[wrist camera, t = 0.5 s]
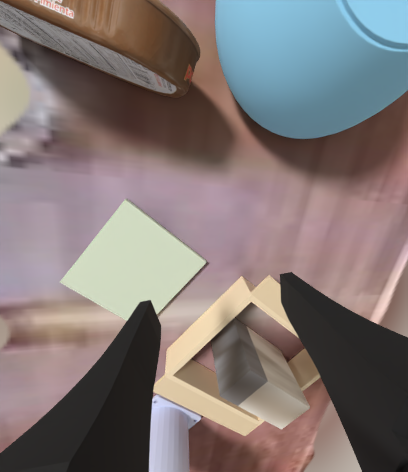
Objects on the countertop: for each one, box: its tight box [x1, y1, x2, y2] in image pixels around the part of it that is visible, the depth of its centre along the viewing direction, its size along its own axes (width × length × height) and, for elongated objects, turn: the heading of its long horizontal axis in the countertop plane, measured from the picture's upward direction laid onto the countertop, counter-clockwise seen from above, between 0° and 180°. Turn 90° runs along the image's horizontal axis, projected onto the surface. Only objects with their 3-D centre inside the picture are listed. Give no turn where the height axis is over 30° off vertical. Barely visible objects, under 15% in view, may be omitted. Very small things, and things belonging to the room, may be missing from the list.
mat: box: [60, 199, 206, 321], centre depth 22 cm, size 11×10×1 cm
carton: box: [153, 275, 320, 436], centre depth 26 cm, size 18×15×4 cm
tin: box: [0, 0, 200, 98], centre depth 12 cm, size 15×3×8 cm, turn 71°
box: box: [211, 318, 310, 429], centre depth 24 cm, size 4×9×7 cm, turn 48°
